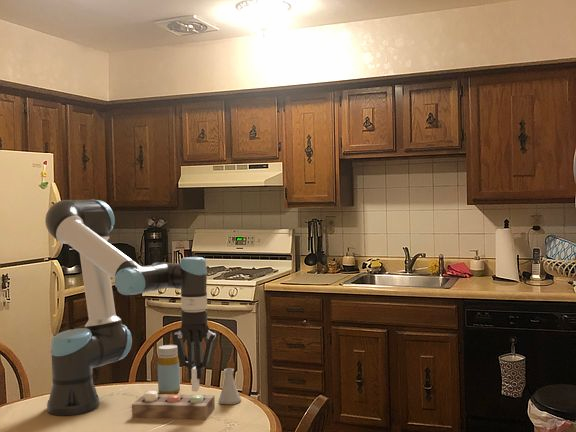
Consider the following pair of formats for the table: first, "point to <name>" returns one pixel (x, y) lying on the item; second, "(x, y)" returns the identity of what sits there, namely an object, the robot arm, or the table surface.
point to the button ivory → (151, 396)
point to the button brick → (173, 398)
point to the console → (173, 408)
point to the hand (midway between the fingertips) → (195, 389)
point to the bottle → (168, 370)
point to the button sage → (196, 399)
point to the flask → (229, 389)
